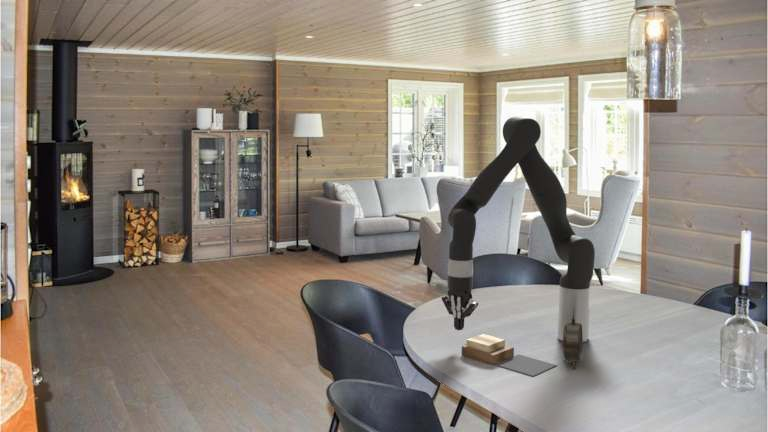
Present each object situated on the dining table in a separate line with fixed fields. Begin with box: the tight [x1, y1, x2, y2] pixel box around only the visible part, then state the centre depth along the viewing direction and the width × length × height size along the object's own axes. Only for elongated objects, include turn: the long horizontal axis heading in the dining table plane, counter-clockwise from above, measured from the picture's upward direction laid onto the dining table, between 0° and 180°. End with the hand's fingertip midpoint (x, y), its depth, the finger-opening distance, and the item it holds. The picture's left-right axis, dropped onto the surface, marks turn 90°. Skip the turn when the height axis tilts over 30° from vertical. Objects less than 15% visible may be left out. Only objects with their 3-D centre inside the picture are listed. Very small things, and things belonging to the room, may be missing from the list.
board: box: [461, 343, 515, 366], centre depth 206 cm, size 10×12×3 cm
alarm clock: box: [561, 309, 584, 370], centre depth 199 cm, size 11×5×16 cm, turn 160°
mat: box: [493, 353, 558, 377], centre depth 199 cm, size 12×13×1 cm
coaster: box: [466, 333, 506, 352], centre depth 207 cm, size 8×8×2 cm
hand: (458, 329), depth 213 cm, fingers closed
